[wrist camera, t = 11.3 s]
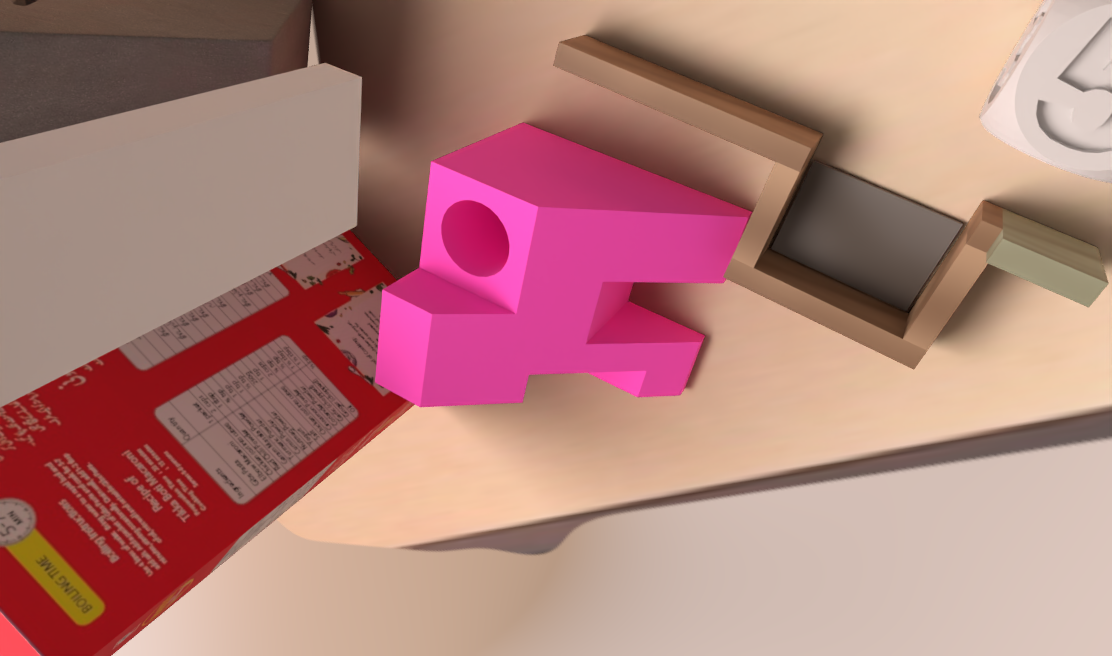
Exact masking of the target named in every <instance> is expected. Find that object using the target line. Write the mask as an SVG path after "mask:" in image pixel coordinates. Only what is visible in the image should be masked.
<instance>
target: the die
mask: <svg viewBox="0 0 1112 656" xmlns="http://www.w3.org/2000/svg"><path fill="white" fill-rule="evenodd" d="M980 120H981V123H982V125H983V127H984V128H985V129H986V130H987V131H988V132H990V133H991V134H992V135H994V136H995V137H996V138H998V139H999V140H1001V141H1003V142H1004V143H1006V144H1008V145H1010V146H1011V147H1013V148H1015V149H1017V150H1019V151H1021V152H1023V153H1025V154H1027V155H1029V156H1031V157H1033V158H1036V159H1038V160H1040V161H1042V162H1045V163H1047V164H1050V165H1052V166H1055V167H1057V168H1060V169H1062V170H1065V171H1068V172H1071V173H1074V174H1077V175H1080V176H1083V177H1086V178H1090V179H1094V180H1098V181H1102V182H1108V183H1112V0H1043V2H1042V4H1041V5H1040V7H1039V8H1038V10H1037V11H1036V13H1035V14H1034V16H1033V18H1032V19H1031V21H1030V22H1029V24H1028V26H1027V27H1026V29H1025V31H1024V32H1023V34H1022V36H1021V37H1020V39H1019V41H1018V42H1017V44H1016V46H1015V47H1014V49H1013V51H1012V52H1011V54H1010V56H1009V58H1008V59H1007V61H1006V63H1005V65H1004V67H1003V68H1002V70H1001V72H1000V74H999V76H998V78H997V79H996V81H995V83H994V85H993V87H992V89H991V91H990V93H989V95H988V97H987V99H986V101H985V103H984V105H983V108H982V110H981V113H980Z"/></svg>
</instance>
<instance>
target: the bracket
mask: <svg viewBox="0 0 1112 656" xmlns="http://www.w3.org/2000/svg"><path fill="white" fill-rule="evenodd" d="M752 213H753V212H751V211H748V210H746V209H743V208H741V207H738V206H736V205H733V204H731V203H728V202H725V201H723V200H720V199H718V198H715V197H713V196H710V195H708V194H705V193H702V192H700V191H697V190H695V189H692V188H690V187H687V186H684V185H682V184H679V183H677V182H674V181H672V180H669V179H667V178H664V177H661V176H659V175H656V174H654V173H651V172H649V171H646V170H644V169H641V168H638V167H636V166H633V165H631V164H628V163H626V162H623V161H620V160H618V159H615V158H613V157H610V156H608V155H605V154H603V153H600V152H597V151H595V150H592V149H590V148H587V147H585V146H582V145H580V144H577V143H574V142H572V141H569V140H567V139H564V138H562V137H559V136H556V135H554V134H551V133H549V132H546V131H544V130H541V129H539V128H536V127H533V126H531V125H528V124H526V123H520V124H518V125H516V126H513V127H511V128H509V129H506V130H504V131H502V132H499V133H497V134H494V135H492V136H490V137H487V138H485V139H483V140H480V141H478V142H476V143H473V144H471V145H468V146H466V147H464V148H461V149H459V150H457V151H454V152H452V153H450V154H447V155H445V156H442V157H440V158H438V159H435V160H433V161H431V167H430V176H429V185H428V194H427V203H426V212H425V221H424V230H423V239H422V248H421V257H420V266H419V268H418V269H416V270H414V271H413V272H411V273H409V274H408V275H406V276H404V277H403V278H401V279H399V280H398V281H396V282H394V283H393V284H391V285H389V286H388V287H386V288H384V289H383V290H382V302H381V314H380V327H379V339H378V351H377V364H376V376H375V383H377V384H379V385H380V386H382V387H384V388H386V389H388V390H390V391H391V392H393V393H395V394H397V395H399V396H401V397H402V398H404V399H406V400H408V401H410V402H412V403H413V404H415V405H417V406H419V407H434V406H456V405H478V404H500V403H522V402H523V398H524V394H525V389H526V385H527V381H528V376H529V375H533V374H564V373H589V374H591V375H593V376H595V377H597V378H599V379H601V380H603V381H606V382H608V383H610V384H612V385H614V386H616V387H618V388H620V389H622V390H624V391H626V392H628V393H630V394H632V395H634V396H636V397H653V396H675V395H681V393H682V392H683V390H684V389H685V386H686V384H687V381H688V379H689V376H690V374H691V371H692V368H693V366H694V363H695V361H696V358H697V355H698V353H699V350H700V348H701V345H702V342H703V340H704V337H705V335H703V334H700V333H698V332H696V331H694V330H691V329H689V328H687V327H685V326H683V325H680V324H678V323H676V322H674V321H671V320H669V319H667V318H665V317H663V316H660V315H658V314H656V313H654V312H651V311H649V310H647V309H645V308H643V307H640V306H638V305H636V304H634V303H632V302H629V301H628V299H629V296H630V293H631V290H632V286H633V283H634V282H668V283H724V281H725V280H726V278H724V277H723V276H724V274H725V272H726V270H727V267H728V265H729V263H730V261H731V259H732V256H733V254H734V252H735V250H736V248H737V246H738V243H739V241H740V239H741V237H742V235H743V232H744V230H745V228H746V226H747V224H748V222H749V219H750V217H751V215H752Z"/></svg>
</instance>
